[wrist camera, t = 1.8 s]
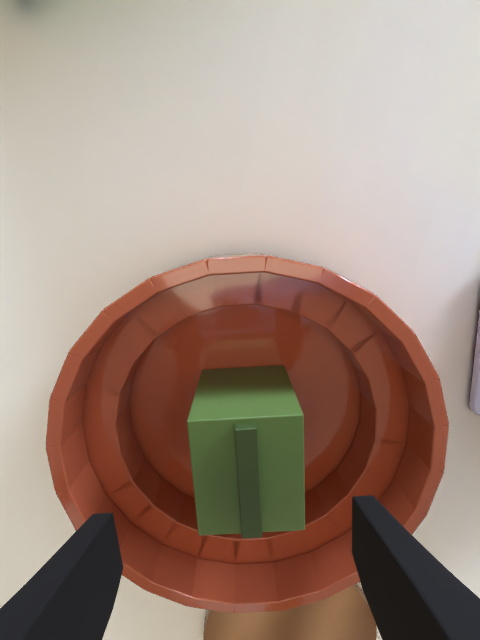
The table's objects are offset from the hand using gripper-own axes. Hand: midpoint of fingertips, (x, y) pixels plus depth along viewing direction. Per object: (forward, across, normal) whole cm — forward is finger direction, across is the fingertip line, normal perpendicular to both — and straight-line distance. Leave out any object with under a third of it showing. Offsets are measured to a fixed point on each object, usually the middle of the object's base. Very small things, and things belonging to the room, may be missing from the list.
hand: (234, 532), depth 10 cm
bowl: (+8, 0, 0) cm, 8 cm away
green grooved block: (+7, 0, 0) cm, 7 cm away
